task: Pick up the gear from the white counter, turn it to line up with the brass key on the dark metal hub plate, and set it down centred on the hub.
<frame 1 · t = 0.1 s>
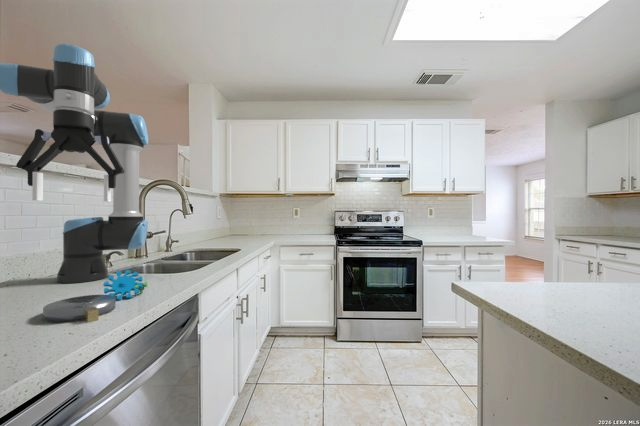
hand: (73, 201, 70), 28 cm above the worktop, tool pointing down, fingers open, 13 cm apart
hub: (81, 312, 73), on the worktop
gear: (125, 297, 87), on the worktop
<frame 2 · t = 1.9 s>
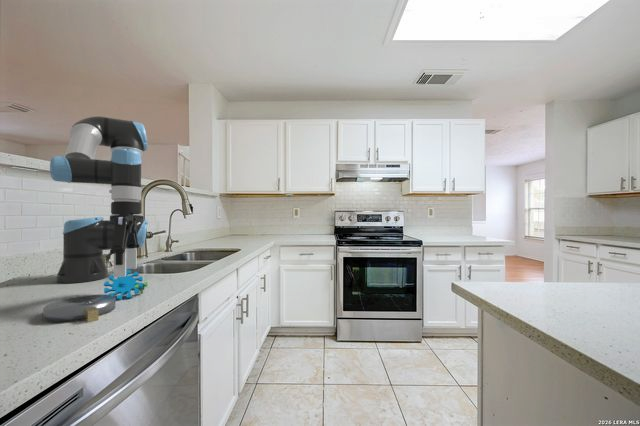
hand: (126, 272, 87), 7 cm above the worktop, tool pointing down, fingers open, 13 cm apart
nothing on the worktop moved.
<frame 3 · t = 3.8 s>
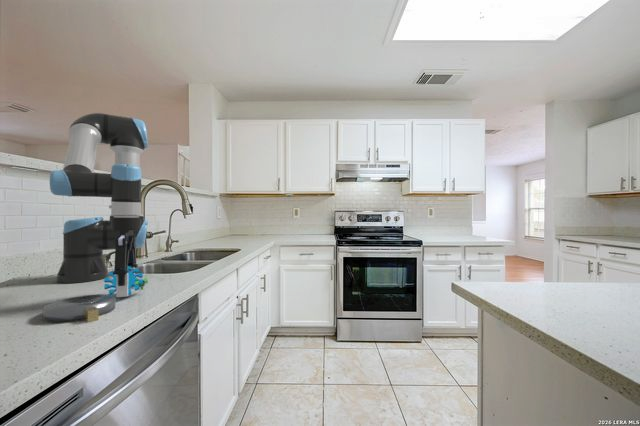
hand: (125, 292, 87), 1 cm above the worktop, tool pointing down, fingers closed on gear, 8 cm apart
gear: (126, 293, 87), point 1 cm above the worktop, touching gripper
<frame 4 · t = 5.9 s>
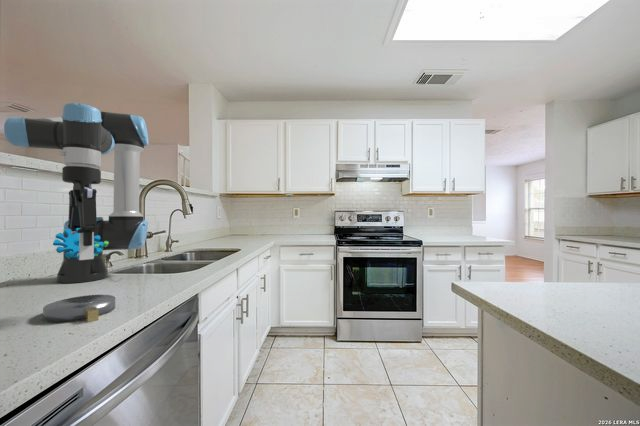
hand: (81, 257, 73), 14 cm above the worktop, tool pointing down, fingers closed on gear, 8 cm apart
gear: (82, 259, 73), point 13 cm above the worktop, touching gripper
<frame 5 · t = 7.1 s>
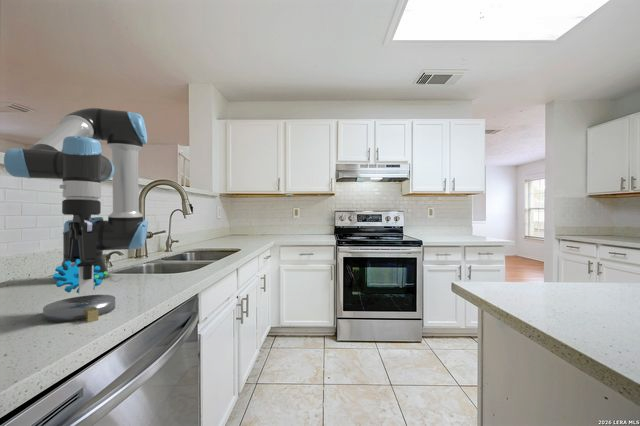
hand: (81, 289, 73), 6 cm above the worktop, tool pointing down, fingers closed on gear, 8 cm apart
gear: (81, 291, 73), point 5 cm above the worktop, touching gripper
when the fingers open (3 cm above the worktop, at t = 8.1 s): gear stays where it is, resting on hub.
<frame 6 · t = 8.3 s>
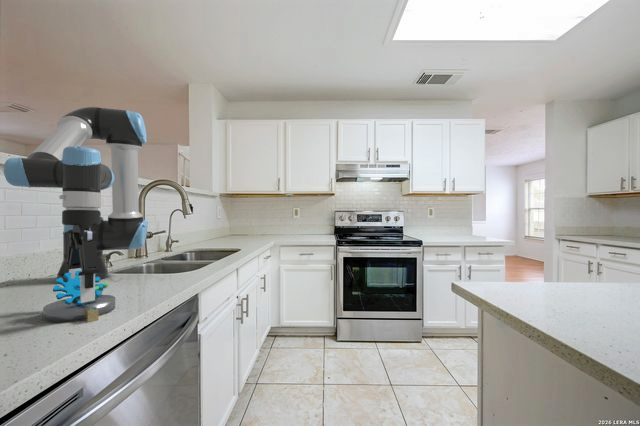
hand: (81, 297, 73), 4 cm above the worktop, tool pointing down, fingers open, 10 cm apart
gear: (82, 302, 73), point 2 cm above the worktop, touching hub
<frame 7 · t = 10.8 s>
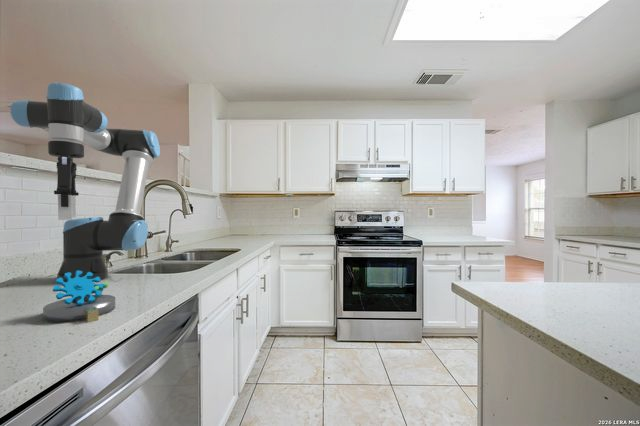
hand: (67, 218, 82), 23 cm above the worktop, tool pointing down, fingers open, 13 cm apart
nothing on the worktop moved.
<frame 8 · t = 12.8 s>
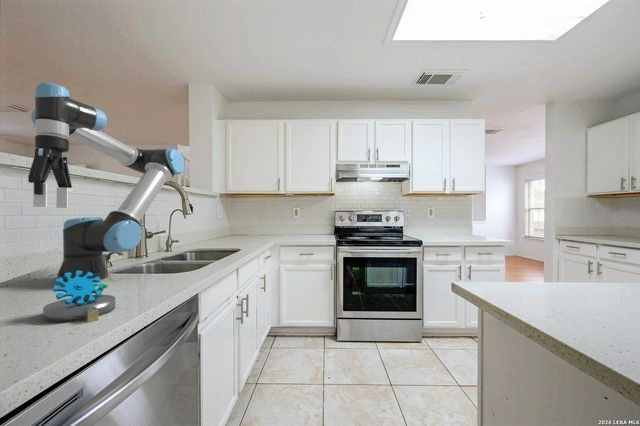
hand: (52, 207, 88), 27 cm above the worktop, tool pointing down, fingers open, 13 cm apart
nothing on the worktop moved.
at the end: gear 0.3 cm from the hub (horizontally); gear touching hub; the gripper is holding nothing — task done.
